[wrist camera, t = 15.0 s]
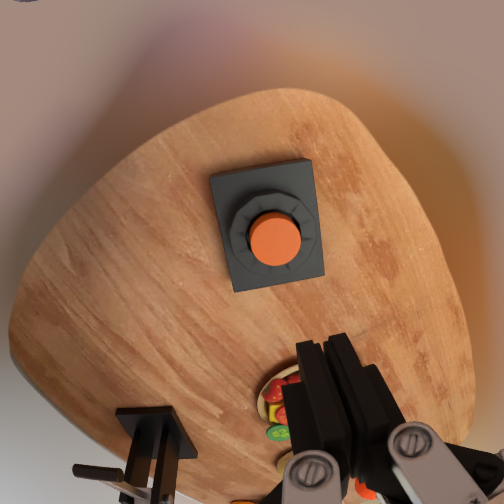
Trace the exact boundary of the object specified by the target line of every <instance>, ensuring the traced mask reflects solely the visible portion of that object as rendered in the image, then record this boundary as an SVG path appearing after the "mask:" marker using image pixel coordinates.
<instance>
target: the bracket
mask: <svg viewBox="0 0 504 504" xmlns="http://www.w3.org/2000/svg"><path fill="white" fill-rule="evenodd" d="M115 416H116V417H117V419H118V420H119V421H120V423H121V424H122V426H123V427H124V429H125V430H126V432H127V433H128V434H129V436H130V437H131V439H132V444H131V448H130V452H129V457H128V461H127V465H126V470H125V474H124V482H126V483H128V484H130V485H132V486H134V487H143V488H147V482H148V476H149V471H150V465H151V459H157V462H156V468H155V475H154V481H153V487H152V494H151V501H150V504H174V498H175V488H176V478H177V469H178V460H179V459H194V458H197V456H198V452H197V450H196V448H195V447H194V445H193V443H192V441H191V440H190V438H189V436H188V434H187V433H186V431H185V429H184V427H183V425H182V423H181V422H180V420H179V418H178V416H177V414H176V412H175V410H174V408H173V407H172V406H170V407H153V408H125V409H117V410H116V413H115ZM119 502H120V503H121V504H134V497H131V496H129V495H127V494H125V493H123V492H120V496H119Z"/></svg>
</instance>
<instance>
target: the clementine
mask: <svg viewBox="0 0 504 504" xmlns="http://www.w3.org/2000/svg"><path fill="white" fill-rule="evenodd" d="M355 489H356V491H357V493H358V494H359V495H360V496H361V497H363V498H365V499H369V500H374V499H378V498H377V497H376V494H375V492H374V491H372V490H369V489H367V488H366V485H365V483H362V484H359V481H358V478H356V481H355Z"/></svg>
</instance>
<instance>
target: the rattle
mask: <svg viewBox="0 0 504 504" xmlns="http://www.w3.org/2000/svg"><path fill="white" fill-rule="evenodd" d="M231 504H255V503H252V502H249V501H236V502H232V503H231Z"/></svg>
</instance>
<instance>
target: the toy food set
mask: <svg viewBox="0 0 504 504" xmlns="http://www.w3.org/2000/svg"><path fill="white" fill-rule="evenodd" d="M361 364H362V366H363V367H364V366H367V365H366V364H364V363H362V362H361ZM296 382H300V375H299V367H298V364H296V365H293V366H291V367H289V368H286V369H284V370H283V371H281V372H279V373H278V374H276V375H275V376H274V377H273V378H271V379H270V380H269V381H268V382H267V383H266V385H265V386H264V387H263V389H262V390H261V392H260V394H259V397H258V401H257V408H258V412H259V414H260V416H261V417H262V419H263V420H264V421H265V422H266V423H267V424H269V425H270V427H269V428H268V429H267V431H266V435H267V437H268V438H269V439H271V440H274V441H284V440H287V439H290V434H289V429H288V423H287V418H286V412H285V407H284V402H283V396H282V390H281V385H286V384H291V383H296Z"/></svg>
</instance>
